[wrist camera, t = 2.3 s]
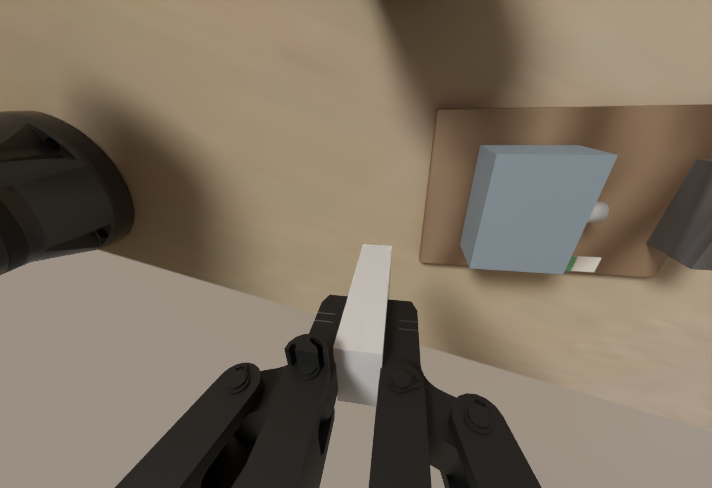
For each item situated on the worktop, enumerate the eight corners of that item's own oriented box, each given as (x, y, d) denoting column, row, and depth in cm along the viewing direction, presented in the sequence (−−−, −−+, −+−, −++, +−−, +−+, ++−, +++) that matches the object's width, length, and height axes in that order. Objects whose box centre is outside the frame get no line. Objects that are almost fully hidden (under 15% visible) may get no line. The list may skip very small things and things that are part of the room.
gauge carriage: (456, 260, 25) (465, 285, 22) (480, 145, 20) (496, 154, 17) (556, 266, 24) (582, 294, 21) (609, 145, 19) (655, 155, 15)
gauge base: (419, 257, 27) (422, 286, 23) (436, 109, 21) (446, 111, 16) (644, 271, 24) (696, 307, 20) (752, 103, 18) (866, 104, 13)
